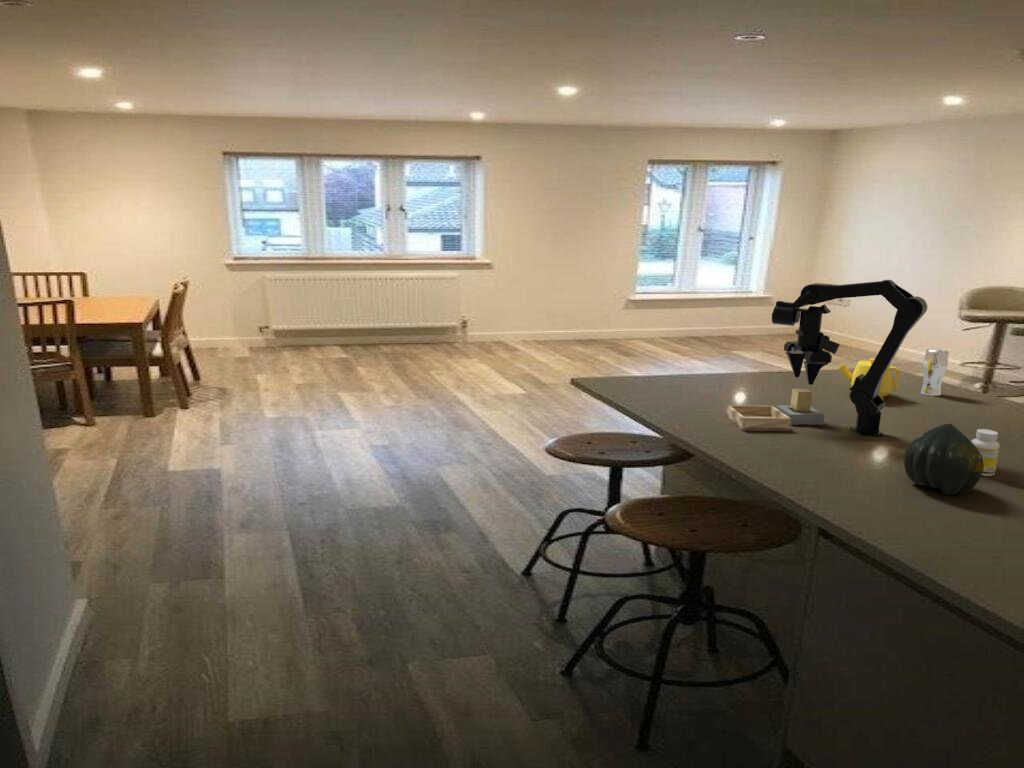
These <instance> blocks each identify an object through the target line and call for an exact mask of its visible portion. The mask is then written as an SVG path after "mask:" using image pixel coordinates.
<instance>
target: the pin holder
mask: <svg viewBox="0 0 1024 768" xmlns="http://www.w3.org/2000/svg"><path fill="white" fill-rule="evenodd" d="M790 406H791V404H789V405H786V404H785V405H779V404H778V405H775V408H776V409H778V410H779V411H781V412H782V413H784V414H785V415H787V416H788V417H790V418H791V426H792V425H793V426H794V425H795V426H796V425H797V426H799V424H807V426H811V425H812V424H814V425H812V426H817V425H816V424H821V425H820V426H823V425H824V420H825V414H824V413H822V412H820V411H819V410H817V409H815V408H814V407H812V406H811V405H810V412H809V413H801V412H793V411H792V410H790Z"/></svg>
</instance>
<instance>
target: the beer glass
mask: <svg viewBox="0 0 1024 768" xmlns="http://www.w3.org/2000/svg"><path fill="white" fill-rule="evenodd" d="M925 351H926V352H925V355H924V358H923V366H922V369H923V370H922V372H923V373H922V374H923V381H922V386H921V388H920V394H921V395H924V396H925V395H926V396H929V395H930V397H940V396H941V395H942V382H943V380H944V377H945V374H946V371H947V369H948V365H949V363H948V362H949V354H950V353H949V351H948V350H944V349H938V348H937V349H933V348H931V349H930V348H929V349H928V348H927V349H925Z"/></svg>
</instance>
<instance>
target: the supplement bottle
mask: <svg viewBox="0 0 1024 768" xmlns="http://www.w3.org/2000/svg"><path fill="white" fill-rule="evenodd" d="M998 435H999V432H997V431H995V430H992V429H987V428H978V429H976V433H975V436H976V437H974V438H973V439H972V440H970V441H971V442H972V443H973V444H974V445H975V446H976V448H977V449H978V451H979V452H980V454H981V456H982V458H983V465H984V469H983V473H982V475H983V476H982V477H992V475H993V476H994V475H995V474H996V468H997V464H998V463H997V462H998V457H999V453H1000V452H999V451H1000V446H1001V445H1000V443H999V442H998V441H997V440H998Z"/></svg>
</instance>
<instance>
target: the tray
mask: <svg viewBox="0 0 1024 768" xmlns="http://www.w3.org/2000/svg"><path fill="white" fill-rule="evenodd" d="M725 417H726V418H727V420H729V421H731V422H732V424H734V425H735V426H736V427H737V428H738V429H740V430H741V431H754V432H755V431H763V432H764V431H765V432H767V431H771V432H772V431H773V432H774V431H775V432H777V431H778V432H780V431H781V432H782V431H784V432H785V431H787V432H788V431H789V432H790V431H791V426H792V425H791V418H790V417H788V416H787V415H785V414H784V413H782V412H781V411H779V410H778V409H776V406H773V405H750V404H749V405H745V404H743V405H734V404H729V405H726V412H725Z"/></svg>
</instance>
